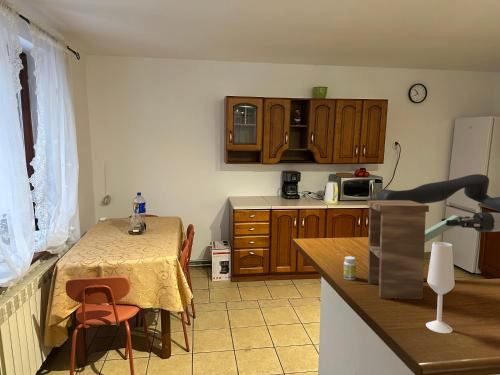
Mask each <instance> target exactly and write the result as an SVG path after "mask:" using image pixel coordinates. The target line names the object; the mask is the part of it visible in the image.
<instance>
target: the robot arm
mask: <svg viewBox="0 0 500 375" xmlns="http://www.w3.org/2000/svg"><path fill="white" fill-rule="evenodd" d="M489 185H490V179H489V176H488V175H485V174H481V173H479V174H478V173H475V174H469V175H465V176H461V177H457V178H454V179H448V180H444V181H443V180H442V181H437V182H429V183H428V182H427V183H424V184H422V185H419V186H417V187H415V188H412V189H405V190H393V189H387V188H385V189H382V190H380V191H379V193H378V194H377V196H376V200H410V201H414V202H417V203H421V204H424V205H427V204H433V203H438V202H442V201H445V200H447V199H448V198H450V197H452V196H453V195H455V193H457V192H459V191H460V190H462V189H463V190H464V192H463V193H464V195H465V196H466V197H467V198H469V199H471V200H473V201H475V202H477V203H480V204H482V205H484V206H487V207H490V208H492V209H493V210H496V211H497V212H475V213H474V214H473V216H472V217H471V216H470V215H469V216H467V215H466V216H462V215H460V216H458V217H459V219H460V220H447V221H446V225H447V226H455V227H461V228H467V229H473V230H475V231H476V232H479V233H480V232H481V233H482V232H484V233H485V232H486V233H487V232H489V233H491V232H492V233H493V232H494V233H495V232H500V196H498V197H497V196H496V197H491V196H490V195H488V190H489ZM446 219H447V218H442V219H441V222H442V221H444V220H446Z"/></svg>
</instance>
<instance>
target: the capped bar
mask: <svg viewBox="0 0 500 375" xmlns="http://www.w3.org/2000/svg"><path fill="white" fill-rule="evenodd" d="M447 220H460V219H459V216H458V215H455V214H453V215H451V216H450V217H448V218H447V219H446V220H444V221H442V220H441V221H440V222H438V223H437V224H435V225H432V226H430V228H427V229H425V243H428V242H429V241H431V240H433V239H435V238H437V237H439V236H440V235H442V234H444V233H446V232H448V231H450V230H451V229H453V228H455V227H456V226H447V225H446V221H447Z"/></svg>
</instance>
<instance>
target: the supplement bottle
mask: <svg viewBox="0 0 500 375" xmlns="http://www.w3.org/2000/svg"><path fill="white" fill-rule="evenodd" d="M356 278H357V262H356V257H354V256H351V255H349V256H348V255H347V256H344V262H343V279H345V280H347V281H348V280H349V281H354V280H356Z"/></svg>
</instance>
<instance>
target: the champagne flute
mask: <svg viewBox="0 0 500 375" xmlns="http://www.w3.org/2000/svg"><path fill="white" fill-rule="evenodd" d="M453 254H454V253H453V244H452V243H449V242H445V241H444V242H443V241H434V242H432V246H431V253H430V258H429V266H428V272H427V279H426V281H427V284H428V286H429V287H430V288H431V289H432V290H433V291H434V292H435V293H436V294H437V308H436V320H432V321H428V322H426V323H425V326H426V327H427V329H429V330H430V331H432V332H435V333H440V334H450V333H452V332H453V327H451V326H450V325H448V324H447V323H446V322H444V321H443V320H442V319H443V316H442V315H443V298H444V297H443V295H446V294H448V293H449V292H450V291H451V290H453V288H454V287H455V286H456V285H455V283H456V282H455V271H454V269H455V267H454V255H453Z"/></svg>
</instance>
